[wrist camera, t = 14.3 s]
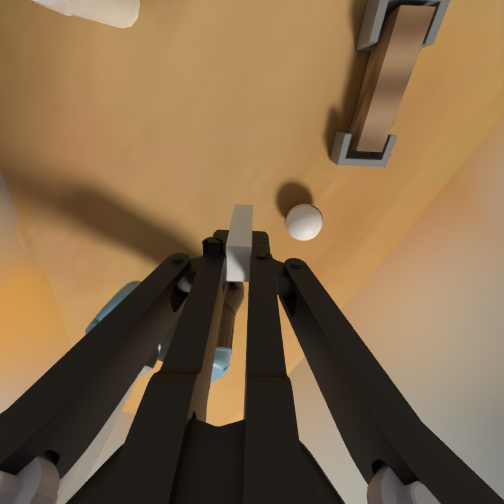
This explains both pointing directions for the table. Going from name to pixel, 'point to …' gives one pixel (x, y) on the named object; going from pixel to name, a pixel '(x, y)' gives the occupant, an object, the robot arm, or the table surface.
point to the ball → (303, 222)
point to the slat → (388, 75)
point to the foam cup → (98, 10)
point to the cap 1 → (359, 152)
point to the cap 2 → (384, 3)
